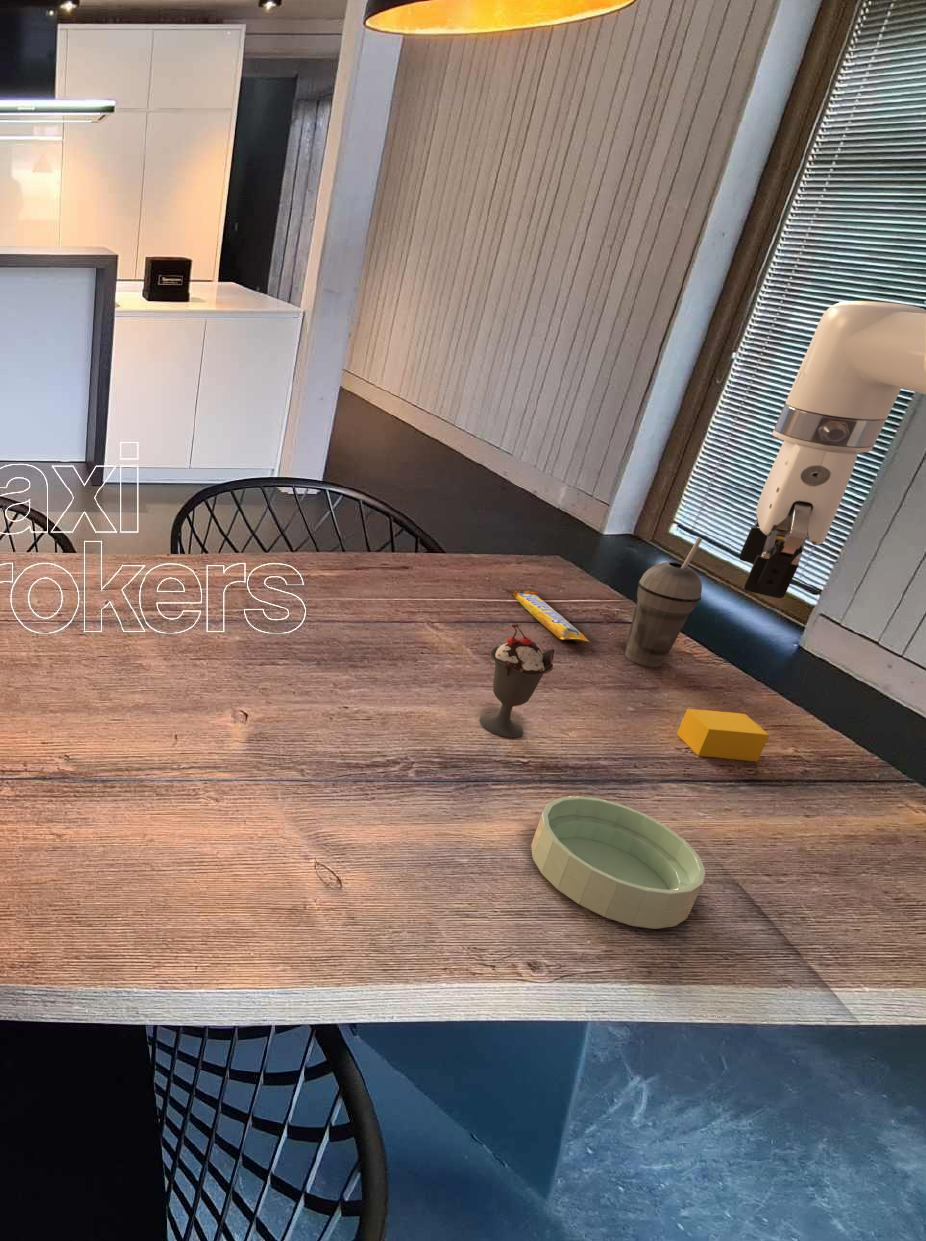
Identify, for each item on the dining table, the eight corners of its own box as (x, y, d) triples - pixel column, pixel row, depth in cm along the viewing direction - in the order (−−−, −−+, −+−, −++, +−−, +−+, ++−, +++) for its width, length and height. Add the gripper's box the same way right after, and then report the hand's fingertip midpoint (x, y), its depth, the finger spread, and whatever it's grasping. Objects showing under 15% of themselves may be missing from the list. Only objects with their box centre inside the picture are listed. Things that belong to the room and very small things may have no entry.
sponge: (733, 739, 104) (745, 713, 102) (757, 761, 100) (769, 734, 98) (676, 734, 105) (687, 708, 103) (698, 755, 101) (709, 729, 99)
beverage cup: (621, 641, 126) (664, 522, 119) (679, 660, 121) (728, 537, 113) (607, 657, 122) (650, 534, 114) (666, 677, 117) (716, 550, 109)
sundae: (460, 719, 107) (488, 619, 101) (492, 706, 110) (521, 608, 104) (509, 747, 102) (542, 643, 96) (541, 733, 105) (575, 631, 99)
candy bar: (508, 597, 140) (511, 587, 139) (534, 598, 140) (537, 589, 139) (561, 647, 125) (564, 636, 124) (590, 649, 124) (593, 638, 123)
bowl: (640, 841, 87) (655, 804, 85) (719, 942, 75) (738, 902, 73) (508, 825, 89) (520, 789, 87) (565, 922, 77) (581, 882, 75)
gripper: (894, 455, 75) (814, 618, 82) (863, 417, 87) (796, 561, 94) (785, 439, 79) (718, 595, 86) (771, 405, 91) (713, 543, 98)
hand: (759, 577), depth 90 cm, fingers open, 9 cm apart
